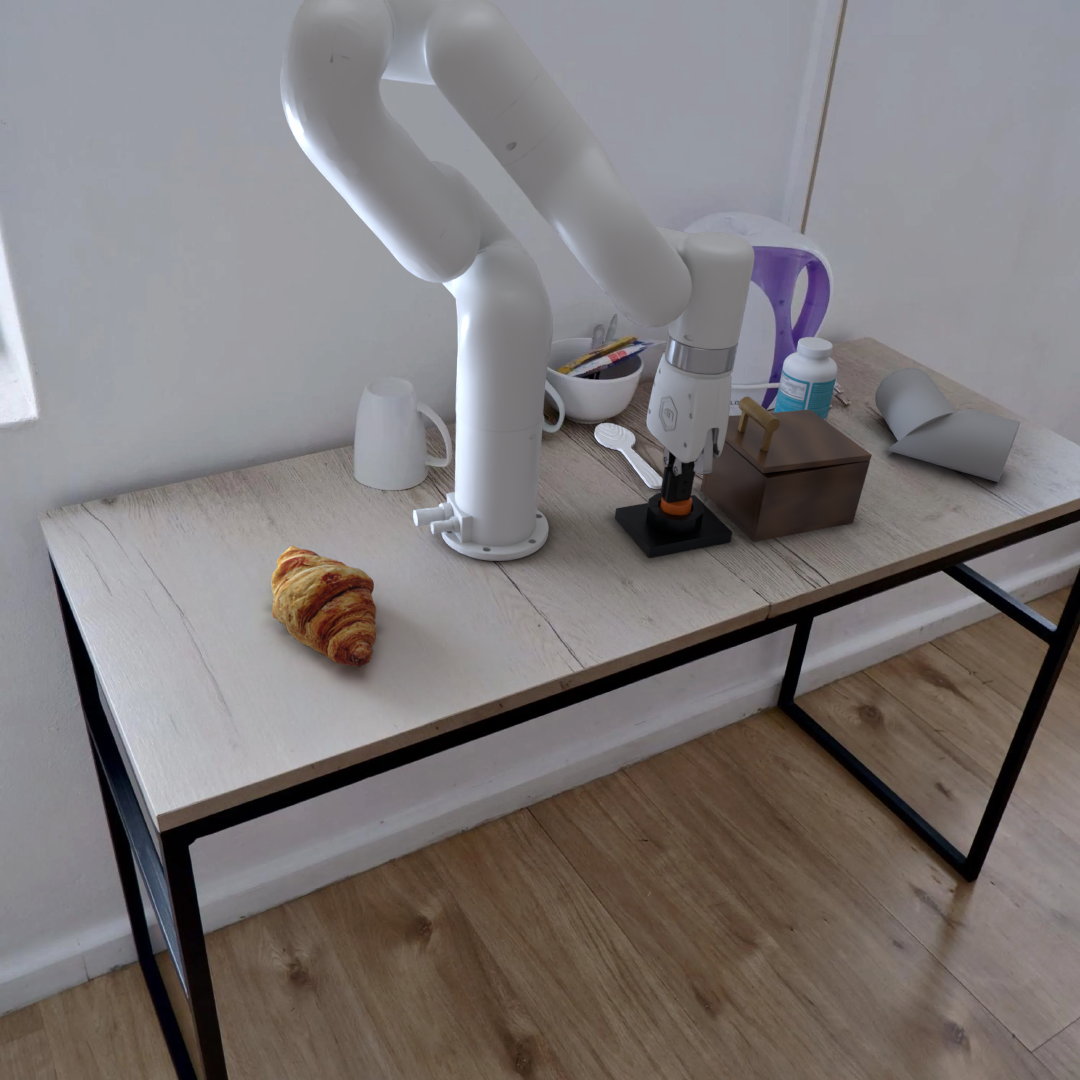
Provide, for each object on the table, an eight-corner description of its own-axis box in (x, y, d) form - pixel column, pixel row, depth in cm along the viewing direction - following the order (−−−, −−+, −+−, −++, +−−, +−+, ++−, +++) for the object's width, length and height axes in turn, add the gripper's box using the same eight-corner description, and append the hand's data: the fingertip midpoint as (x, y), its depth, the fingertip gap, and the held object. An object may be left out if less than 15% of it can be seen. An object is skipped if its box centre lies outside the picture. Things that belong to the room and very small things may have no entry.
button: (668, 522, 118) (671, 508, 117) (654, 506, 121) (656, 492, 119) (695, 517, 119) (698, 503, 118) (680, 502, 122) (682, 488, 121)
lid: (762, 473, 115) (773, 433, 112) (706, 424, 124) (714, 386, 121) (870, 460, 120) (882, 422, 118) (808, 414, 130) (818, 378, 127)
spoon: (640, 491, 128) (641, 487, 128) (586, 427, 142) (586, 424, 142) (678, 486, 130) (678, 482, 130) (620, 423, 144) (621, 420, 144)
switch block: (649, 558, 116) (652, 533, 114) (614, 518, 123) (617, 493, 121) (730, 542, 120) (735, 517, 118) (692, 504, 127) (697, 480, 125)
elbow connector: (844, 446, 140) (994, 490, 132) (866, 372, 136) (1022, 412, 128) (869, 426, 154) (1006, 464, 147) (890, 358, 151) (1031, 393, 143)
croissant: (267, 597, 111) (225, 552, 105) (340, 541, 113) (303, 494, 107) (342, 713, 96) (299, 667, 90) (426, 646, 98) (388, 597, 92)
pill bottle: (819, 422, 149) (839, 335, 141) (826, 445, 142) (848, 356, 135) (768, 417, 149) (786, 330, 141) (772, 440, 143) (791, 350, 135)
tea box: (753, 542, 120) (767, 478, 115) (700, 490, 130) (710, 429, 125) (853, 523, 125) (870, 461, 120) (794, 474, 135) (808, 415, 130)
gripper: (637, 329, 113) (618, 471, 123) (705, 384, 102) (678, 536, 112) (695, 323, 116) (671, 463, 126) (768, 377, 104) (735, 526, 114)
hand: (674, 497), depth 119 cm, fingers closed
